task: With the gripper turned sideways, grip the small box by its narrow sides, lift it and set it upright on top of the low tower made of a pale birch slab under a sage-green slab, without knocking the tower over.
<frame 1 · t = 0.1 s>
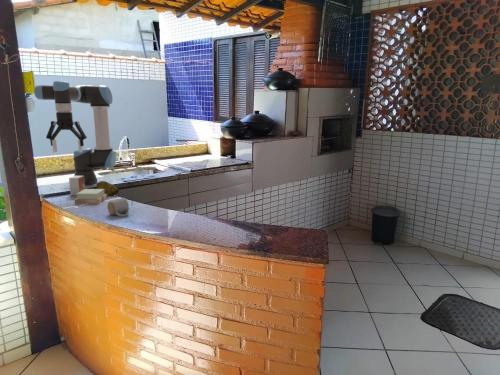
hand: (68, 152, 195), 28 cm above the countertop, tool pointing down, fingers open, 13 cm apart
potato: (107, 194, 220), on the countertop
birch base slab: (91, 201, 206), on the countertop
sage top slab: (91, 196, 205), point 2 cm above the countertop
ceramic mug: (120, 214, 182), on the countertop
small box: (78, 194, 220), on the countertop
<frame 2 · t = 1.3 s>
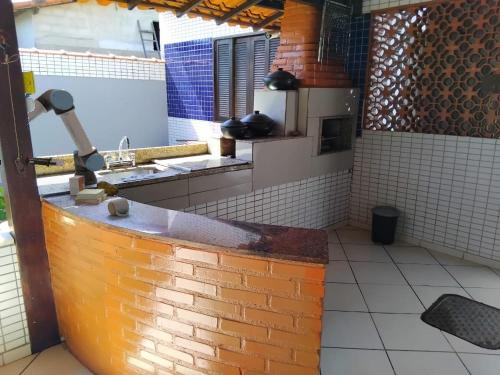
hand: (63, 162, 212), 19 cm above the countertop, tool horizontal, fingers open, 13 cm apart
birch base slab: (91, 201, 206), on the countertop, touching sage top slab
sage top slab: (91, 196, 205), point 2 cm above the countertop, touching birch base slab
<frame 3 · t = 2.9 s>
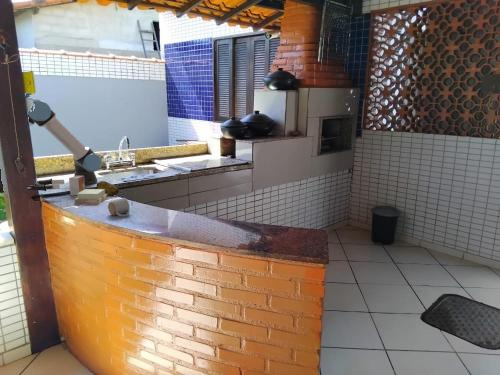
hand: (61, 184, 215), 7 cm above the countertop, tool horizontal, fingers open, 13 cm apart
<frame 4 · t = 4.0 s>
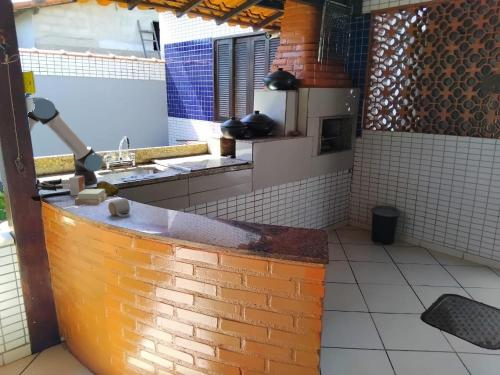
hand: (71, 184, 217), 6 cm above the countertop, tool horizontal, fingers open, 13 cm apart
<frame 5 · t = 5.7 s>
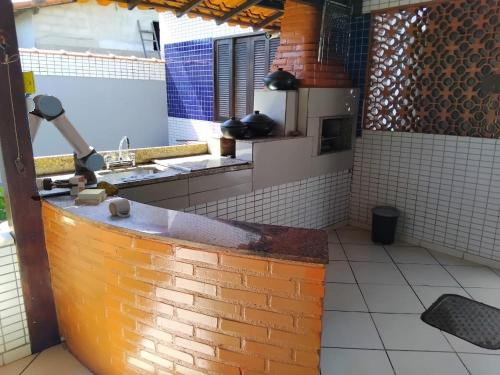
hand: (85, 182, 220), 7 cm above the countertop, tool horizontal, fingers closed on small box, 9 cm apart
small box: (78, 194, 220), on the countertop, touching gripper
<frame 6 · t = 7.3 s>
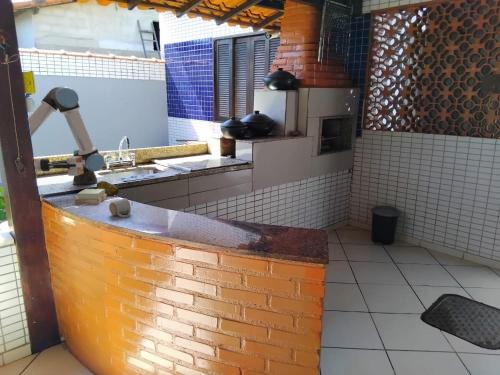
hand: (83, 163, 217), 18 cm above the countertop, tool horizontal, fingers closed on small box, 9 cm apart
small box: (76, 174, 217), point 12 cm above the countertop, touching gripper
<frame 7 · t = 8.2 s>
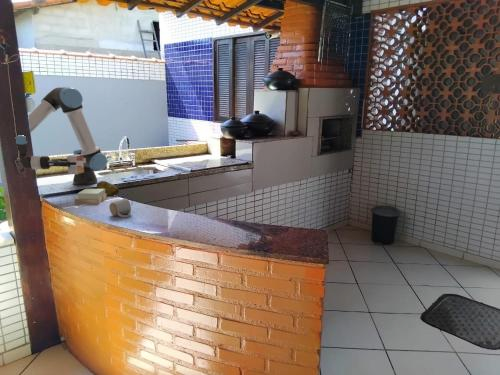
hand: (84, 161, 212), 20 cm above the countertop, tool horizontal, fingers closed on small box, 9 cm apart
small box: (76, 173, 212), point 14 cm above the countertop, touching gripper
when the fingers open (14 cm above the countertop, at t = 11.1 s): small box drops 2 cm, resting on sage top slab.
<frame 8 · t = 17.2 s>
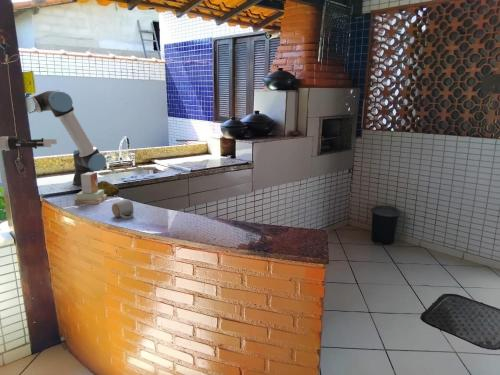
hand: (53, 143, 200), 32 cm above the countertop, tool horizontal, fingers open, 13 cm apart
sage top slab: (90, 197, 205), point 2 cm above the countertop, touching birch base slab, small box
ceramic mug: (124, 216, 179), on the countertop
small box: (90, 192, 205), point 5 cm above the countertop, touching sage top slab
everything else where it was.
at the end: small box inside the target area on the sage top slab (0.1 cm from its centre), point 2.8 cm above the sage top slab's base; small box tilted 0°; sage top slab 0.3 cm off-centre on the birch base slab, point 3.0 cm above the birch base slab's base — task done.
